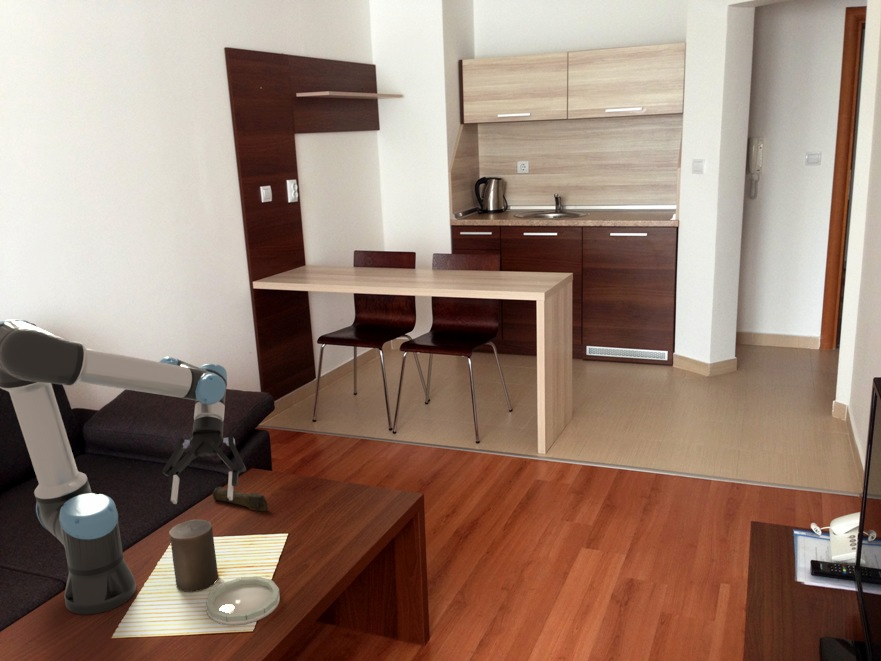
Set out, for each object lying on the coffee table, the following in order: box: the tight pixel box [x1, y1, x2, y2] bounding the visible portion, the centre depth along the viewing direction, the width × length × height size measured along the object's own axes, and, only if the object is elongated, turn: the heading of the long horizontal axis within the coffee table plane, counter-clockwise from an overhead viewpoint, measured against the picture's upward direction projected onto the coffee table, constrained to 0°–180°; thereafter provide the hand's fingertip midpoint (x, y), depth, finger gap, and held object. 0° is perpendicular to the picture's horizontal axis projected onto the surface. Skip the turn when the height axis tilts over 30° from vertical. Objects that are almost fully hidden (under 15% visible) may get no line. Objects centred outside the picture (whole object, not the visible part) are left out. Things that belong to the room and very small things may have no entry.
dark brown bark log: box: [212, 486, 269, 512], centre depth 224 cm, size 19×4×5 cm, turn 59°
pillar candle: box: [168, 518, 219, 593], centre depth 185 cm, size 10×10×15 cm
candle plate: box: [205, 576, 281, 626], centre depth 177 cm, size 16×16×2 cm
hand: (201, 500), depth 193 cm, fingers open, 13 cm apart
